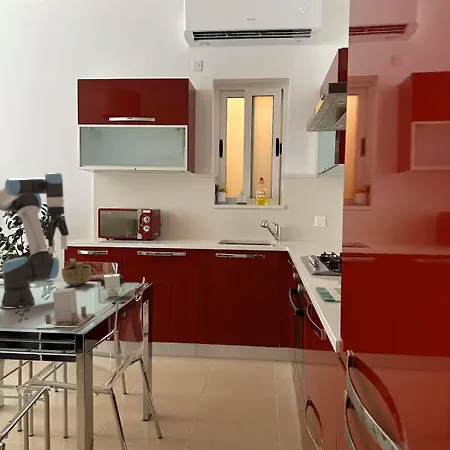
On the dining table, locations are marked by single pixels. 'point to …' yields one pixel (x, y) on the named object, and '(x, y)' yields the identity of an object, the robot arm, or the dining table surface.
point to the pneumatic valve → (112, 283)
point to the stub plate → (69, 323)
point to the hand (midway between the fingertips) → (58, 251)
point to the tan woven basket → (76, 273)
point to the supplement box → (65, 304)
